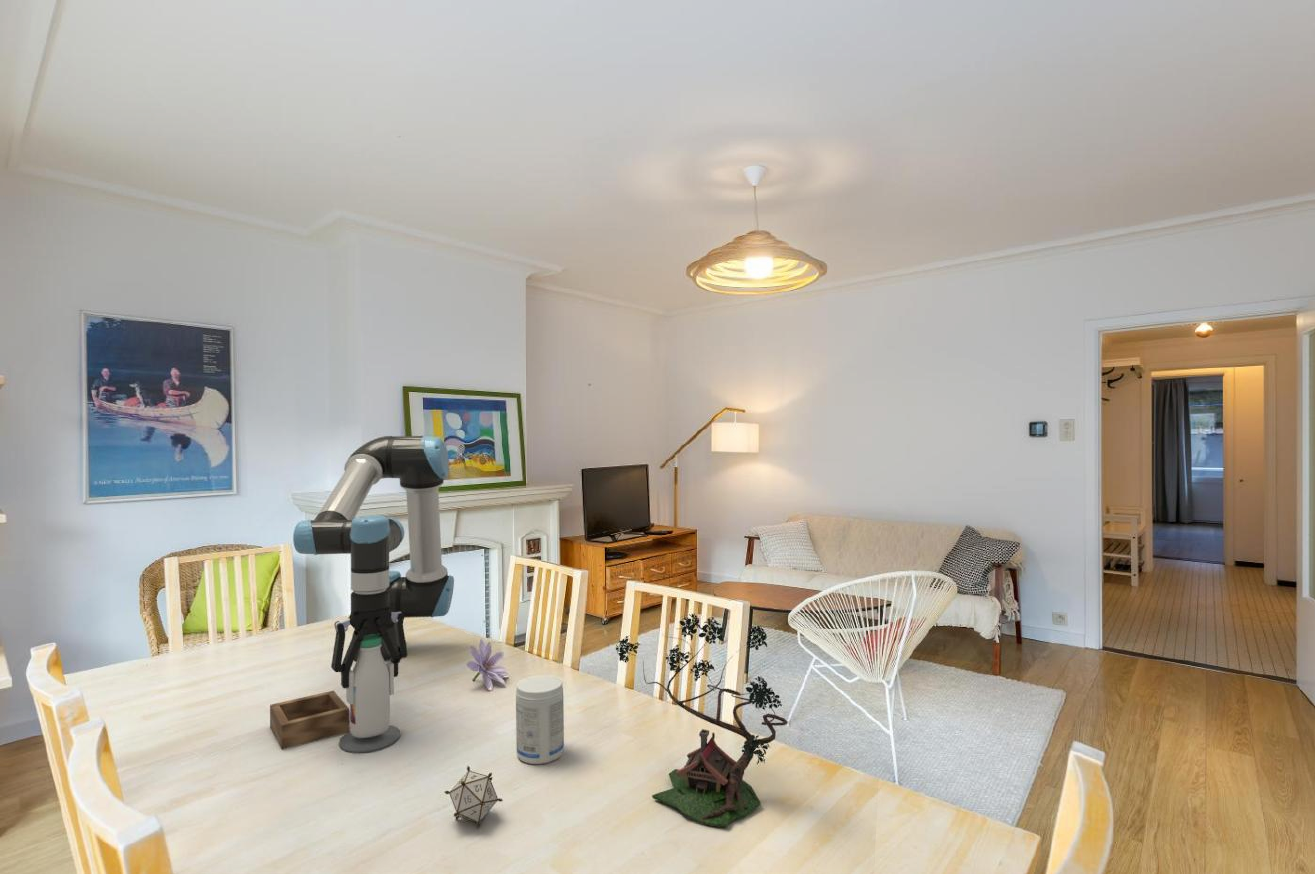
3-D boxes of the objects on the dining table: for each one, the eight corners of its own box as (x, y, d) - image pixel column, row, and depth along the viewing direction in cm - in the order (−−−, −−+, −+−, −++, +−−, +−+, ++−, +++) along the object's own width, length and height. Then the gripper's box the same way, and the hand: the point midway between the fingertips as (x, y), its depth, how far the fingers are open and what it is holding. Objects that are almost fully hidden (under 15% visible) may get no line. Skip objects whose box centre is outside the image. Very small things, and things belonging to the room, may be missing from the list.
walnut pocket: (333, 711, 157) (333, 690, 157) (349, 731, 147) (349, 708, 147) (270, 727, 148) (270, 704, 148) (281, 749, 138) (281, 725, 138)
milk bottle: (396, 723, 147) (396, 631, 146) (378, 739, 139) (377, 643, 138) (362, 721, 147) (362, 630, 147) (342, 737, 140) (342, 642, 139)
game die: (465, 837, 116) (453, 775, 121) (512, 817, 116) (499, 757, 121) (445, 839, 108) (433, 773, 113) (495, 818, 108) (482, 754, 113)
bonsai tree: (797, 769, 132) (799, 608, 131) (777, 841, 109) (779, 646, 108) (631, 740, 144) (632, 592, 143) (581, 800, 121) (582, 624, 120)
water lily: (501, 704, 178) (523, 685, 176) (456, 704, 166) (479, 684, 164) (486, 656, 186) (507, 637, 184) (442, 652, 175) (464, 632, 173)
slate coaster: (390, 721, 152) (390, 719, 152) (408, 741, 142) (408, 738, 142) (332, 737, 144) (332, 734, 144) (347, 758, 135) (347, 755, 135)
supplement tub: (555, 739, 144) (556, 671, 143) (570, 759, 135) (570, 686, 135) (510, 748, 139) (510, 678, 139) (522, 770, 131) (522, 695, 131)
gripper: (412, 579, 152) (412, 680, 152) (313, 593, 139) (313, 703, 140) (424, 586, 146) (424, 690, 147) (322, 601, 133) (322, 715, 134)
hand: (370, 696), depth 143 cm, fingers closed on milk bottle, 7 cm apart
